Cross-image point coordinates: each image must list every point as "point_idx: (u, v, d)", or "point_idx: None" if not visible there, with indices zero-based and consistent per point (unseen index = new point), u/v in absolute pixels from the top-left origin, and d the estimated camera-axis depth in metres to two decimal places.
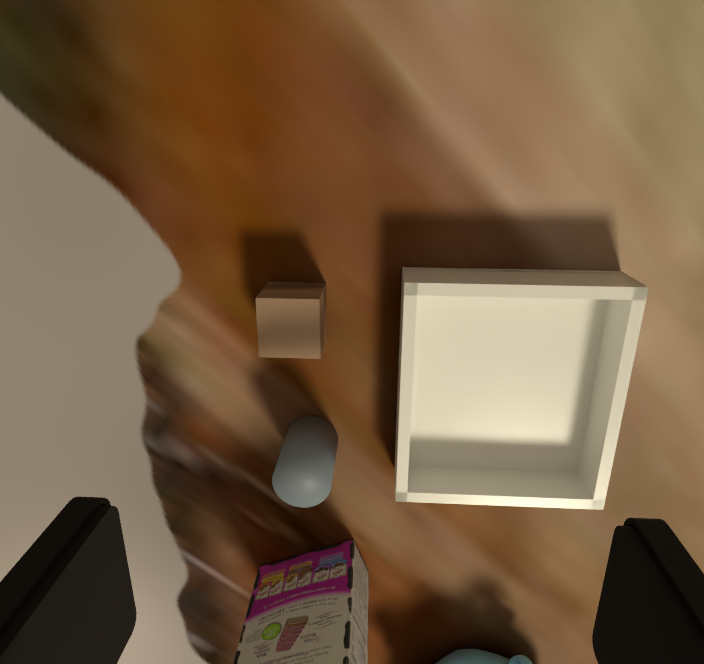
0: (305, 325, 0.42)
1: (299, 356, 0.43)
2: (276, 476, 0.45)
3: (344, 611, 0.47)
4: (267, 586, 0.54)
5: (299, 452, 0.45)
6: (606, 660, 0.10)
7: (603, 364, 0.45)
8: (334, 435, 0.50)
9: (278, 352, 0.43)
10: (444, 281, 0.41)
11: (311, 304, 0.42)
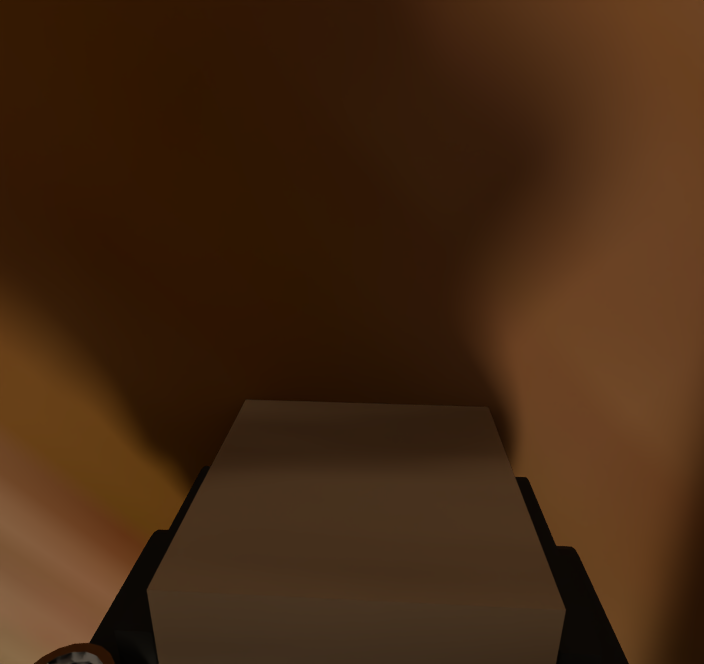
0: None
1: None
2: None
3: None
4: None
5: None
6: None
7: None
8: None
9: None
10: None
11: (506, 633, 0.06)
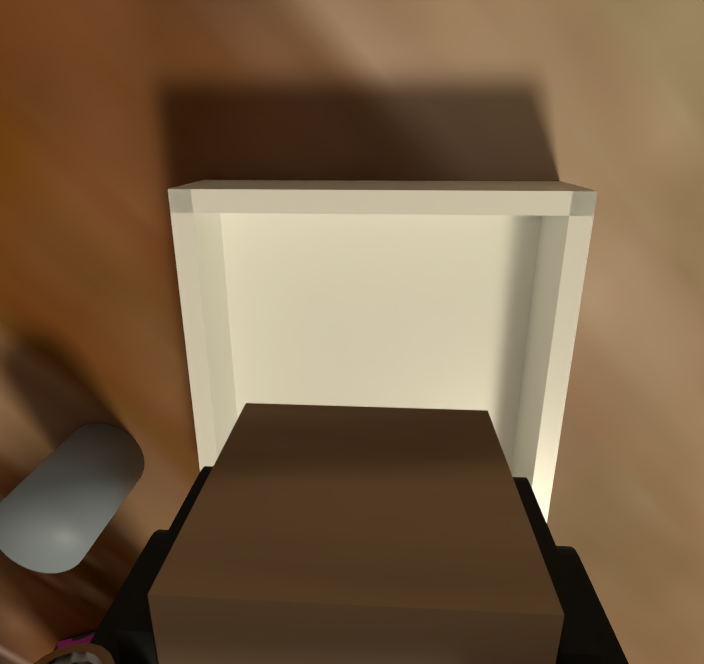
0: None
1: None
2: None
3: None
4: None
5: (33, 484, 0.27)
6: None
7: (533, 336, 0.27)
8: (130, 453, 0.33)
9: None
10: (241, 188, 0.23)
11: (504, 638, 0.06)
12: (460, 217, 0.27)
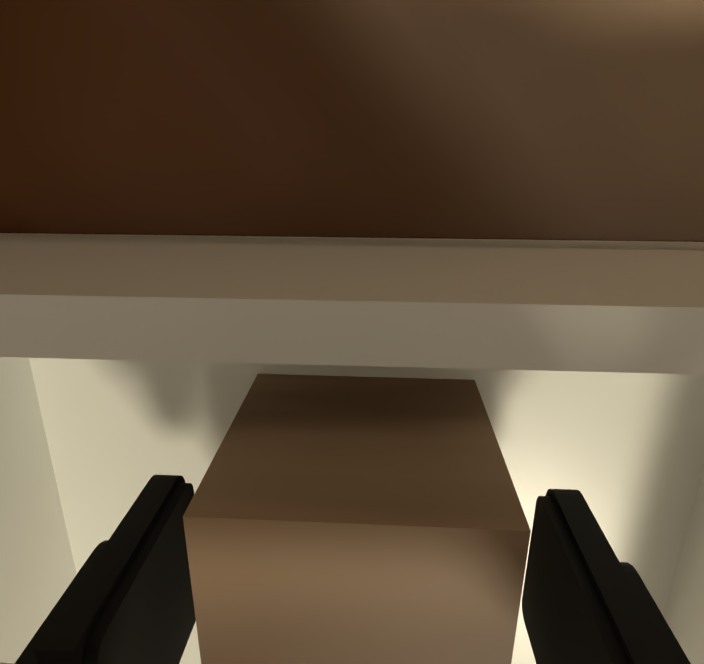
0: (442, 640, 0.08)
1: None
2: None
3: None
4: None
5: None
6: (530, 621, 0.10)
7: None
8: None
9: None
10: None
11: (481, 551, 0.08)
12: None
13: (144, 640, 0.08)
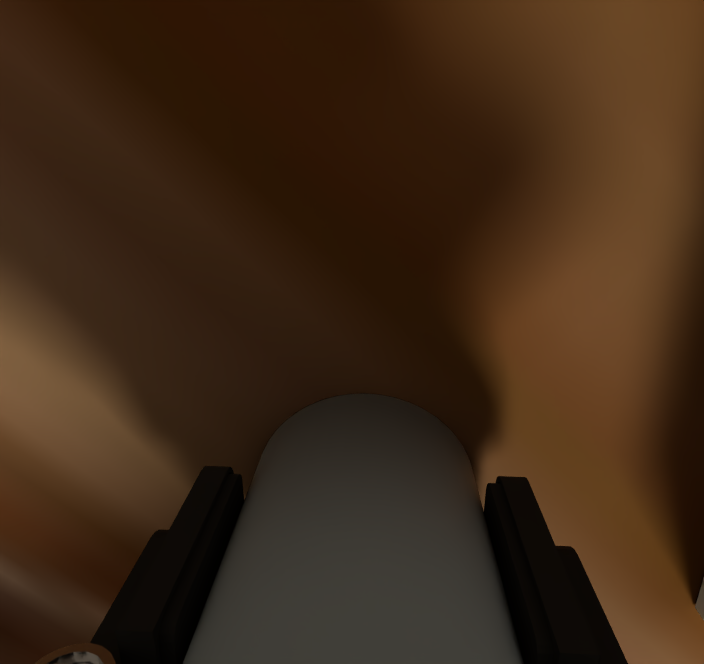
0: None
1: None
2: None
3: None
4: None
5: (323, 659, 0.06)
6: None
7: None
8: (473, 483, 0.11)
9: None
10: None
11: None
12: None
13: None
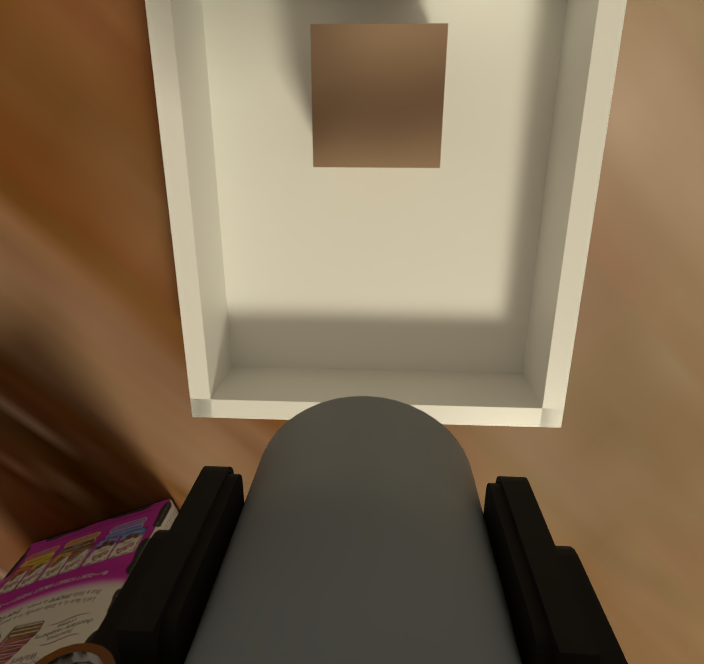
0: (414, 89, 0.20)
1: (396, 163, 0.21)
2: None
3: (99, 613, 0.26)
4: (22, 573, 0.33)
5: (323, 662, 0.06)
6: None
7: (556, 150, 0.24)
8: (473, 485, 0.11)
9: (354, 155, 0.21)
10: None
11: (429, 35, 0.20)
12: (474, 9, 0.24)
13: None
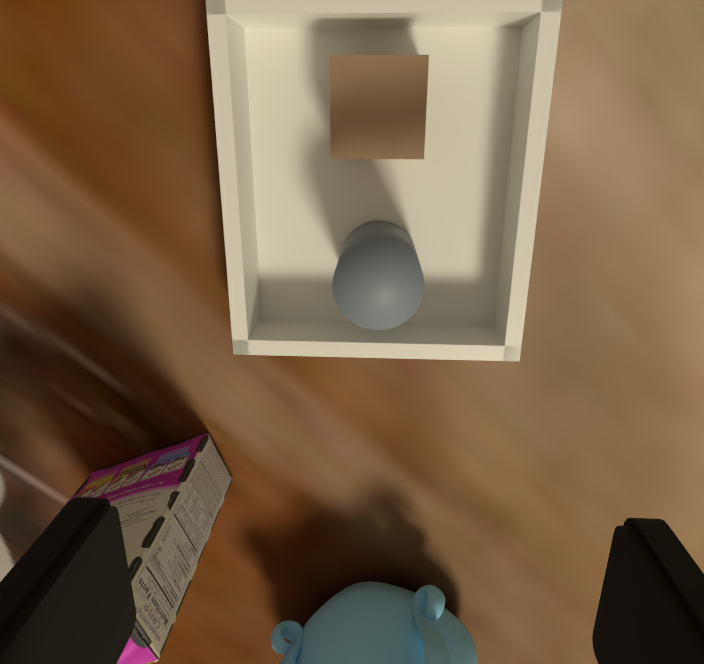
0: (405, 101, 0.28)
1: (392, 156, 0.29)
2: (339, 275, 0.29)
3: (161, 506, 0.34)
4: (89, 491, 0.41)
5: (374, 238, 0.29)
6: (606, 660, 0.10)
7: (514, 147, 0.32)
8: (414, 246, 0.34)
9: (360, 150, 0.29)
10: None
11: (415, 63, 0.27)
12: (451, 40, 0.31)
13: None
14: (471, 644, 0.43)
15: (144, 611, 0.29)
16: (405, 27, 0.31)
